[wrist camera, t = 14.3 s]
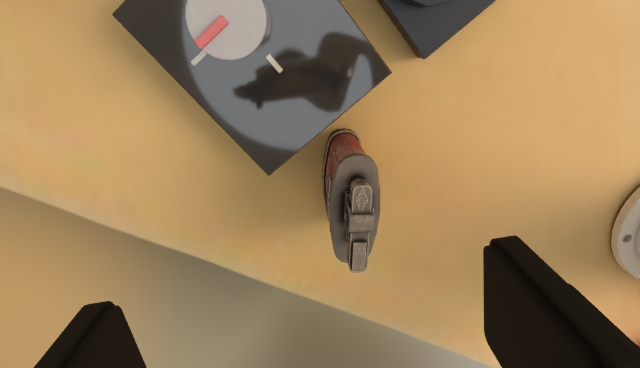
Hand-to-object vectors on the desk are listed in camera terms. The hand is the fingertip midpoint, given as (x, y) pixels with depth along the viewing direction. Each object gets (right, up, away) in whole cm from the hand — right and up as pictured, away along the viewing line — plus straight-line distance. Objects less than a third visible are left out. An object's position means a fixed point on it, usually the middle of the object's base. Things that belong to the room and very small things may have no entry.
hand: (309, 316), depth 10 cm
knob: (-5, +14, +16) cm, 22 cm away
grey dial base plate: (-4, +14, +19) cm, 24 cm away
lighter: (+2, +4, +23) cm, 24 cm away
